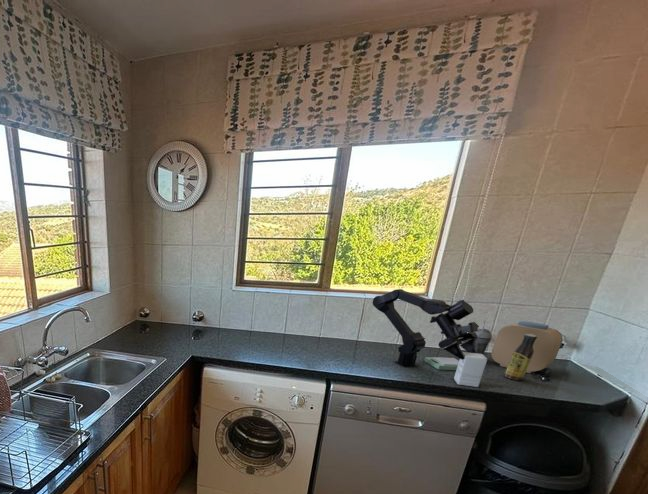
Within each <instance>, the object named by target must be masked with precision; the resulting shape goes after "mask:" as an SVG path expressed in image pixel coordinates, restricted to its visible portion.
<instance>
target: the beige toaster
mask: <svg viewBox="0 0 648 494" xmlns="http://www.w3.org/2000/svg"><path fill="white" fill-rule="evenodd" d="M525 334H532V335H536V336H537V338H536V340H535V342H534V344H533V350H534V353H533V355H532V358H531V361H530V363H529V366H528V368H527V370H526V372H525V373H527V374H532V373H534V372H538V371H539V372H540V371H542V370H544V369H547V368H548V367H549V366H551V365H552V364H553V363H554V362H555V360H556V359H557V356H558V353H559V351H560V348H561V346H562V343H563V334H562V333H561V331H559V330H557V329H555V328H552V327H550V325H548V324H544V323H539V322H532V321H527V320H526V321H524V320H521V321H518V322H516V323H512V324H509V325H505V326H503V327H502V328H501V329H500V330H499V331H498V332H497V334H496V336H495V339H494V342H493V345H492V348H491V354H490V355H491V358H492V360H493V361H494V362H495V363H497V364H499V367H503V368H506V369H507V367H508V365H509V362H510V360H511V358H512V355H513V353H514V351H515V350H516V349H517V348H518V347H519V346H520V344H521V343H522V341H523V339H524V335H525Z"/></svg>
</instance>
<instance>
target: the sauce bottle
mask: <svg viewBox="0 0 648 494" xmlns="http://www.w3.org/2000/svg"><path fill="white" fill-rule="evenodd" d="M536 338H537V336H536V335H532V334H525V335H524V339H523V341H522V343H521V344H520V346H519V347H518V348H517V349H516V350H515V351H514V353H513V355H512V358H511V360H510V362H509V365H508V367H507V368H506V369H505V373H504V377H505V378H506V379H510V380H513V381H522V380H523V378H524V377H525V375H526V373H527V372H526V370H527V368H528V366H529V363H530V361H531V358H532V355H533V353H534V350H533V344H534V342H535V340H536Z"/></svg>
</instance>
